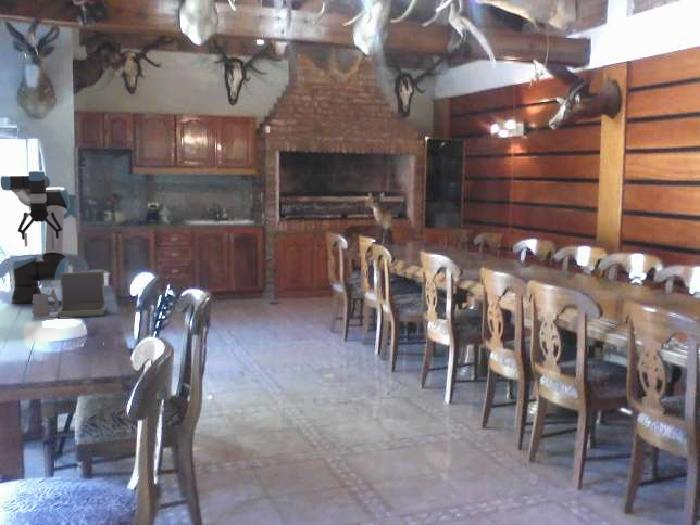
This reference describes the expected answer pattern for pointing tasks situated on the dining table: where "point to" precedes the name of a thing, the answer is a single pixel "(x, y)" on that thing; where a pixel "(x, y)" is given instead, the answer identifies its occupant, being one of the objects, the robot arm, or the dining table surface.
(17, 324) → the dining table surface
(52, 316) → the trivet
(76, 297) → the case
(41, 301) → the mug
